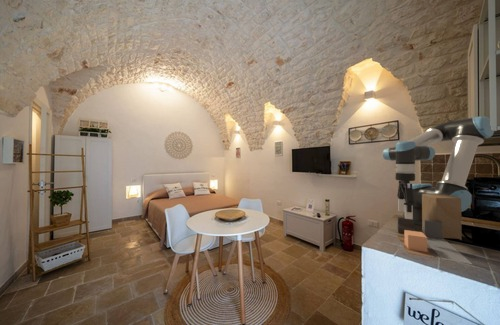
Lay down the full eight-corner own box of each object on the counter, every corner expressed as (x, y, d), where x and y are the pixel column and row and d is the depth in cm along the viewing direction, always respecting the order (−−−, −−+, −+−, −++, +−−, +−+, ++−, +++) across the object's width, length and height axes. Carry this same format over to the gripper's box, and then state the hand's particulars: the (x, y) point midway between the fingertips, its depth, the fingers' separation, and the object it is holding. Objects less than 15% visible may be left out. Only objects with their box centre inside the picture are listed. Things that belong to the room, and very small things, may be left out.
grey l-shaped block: (420, 237, 90) (420, 219, 90) (443, 240, 86) (443, 221, 86) (441, 261, 69) (441, 237, 69) (472, 267, 65) (472, 242, 65)
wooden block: (462, 240, 85) (461, 198, 85) (436, 239, 88) (436, 197, 87) (444, 232, 95) (444, 194, 95) (421, 231, 97) (421, 193, 97)
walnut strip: (395, 233, 95) (395, 216, 95) (415, 236, 91) (415, 218, 91) (407, 255, 74) (407, 233, 74) (434, 260, 70) (434, 236, 70)
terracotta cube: (404, 243, 82) (404, 229, 82) (422, 246, 79) (422, 232, 79) (408, 249, 77) (408, 234, 77) (427, 252, 74) (427, 237, 74)
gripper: (390, 171, 105) (390, 208, 105) (401, 174, 83) (401, 221, 83) (407, 171, 101) (407, 209, 101) (423, 174, 79) (423, 223, 79)
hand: (404, 214), depth 92 cm, fingers open, 13 cm apart
